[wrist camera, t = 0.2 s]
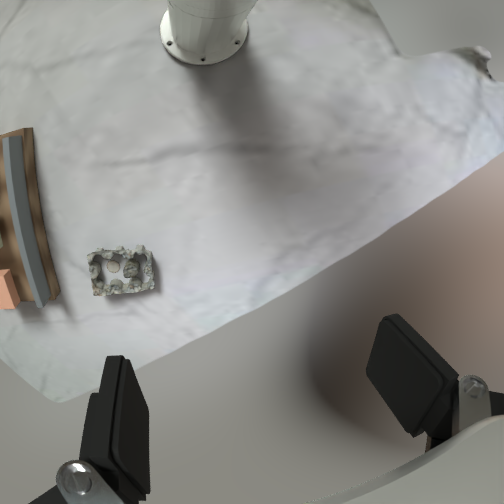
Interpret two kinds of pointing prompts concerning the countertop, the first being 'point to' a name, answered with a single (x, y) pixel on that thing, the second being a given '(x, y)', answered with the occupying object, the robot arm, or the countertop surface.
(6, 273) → the key terracotta
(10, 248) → the keypad
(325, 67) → the countertop surface
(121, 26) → the countertop surface
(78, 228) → the countertop surface
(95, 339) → the countertop surface
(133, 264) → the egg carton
